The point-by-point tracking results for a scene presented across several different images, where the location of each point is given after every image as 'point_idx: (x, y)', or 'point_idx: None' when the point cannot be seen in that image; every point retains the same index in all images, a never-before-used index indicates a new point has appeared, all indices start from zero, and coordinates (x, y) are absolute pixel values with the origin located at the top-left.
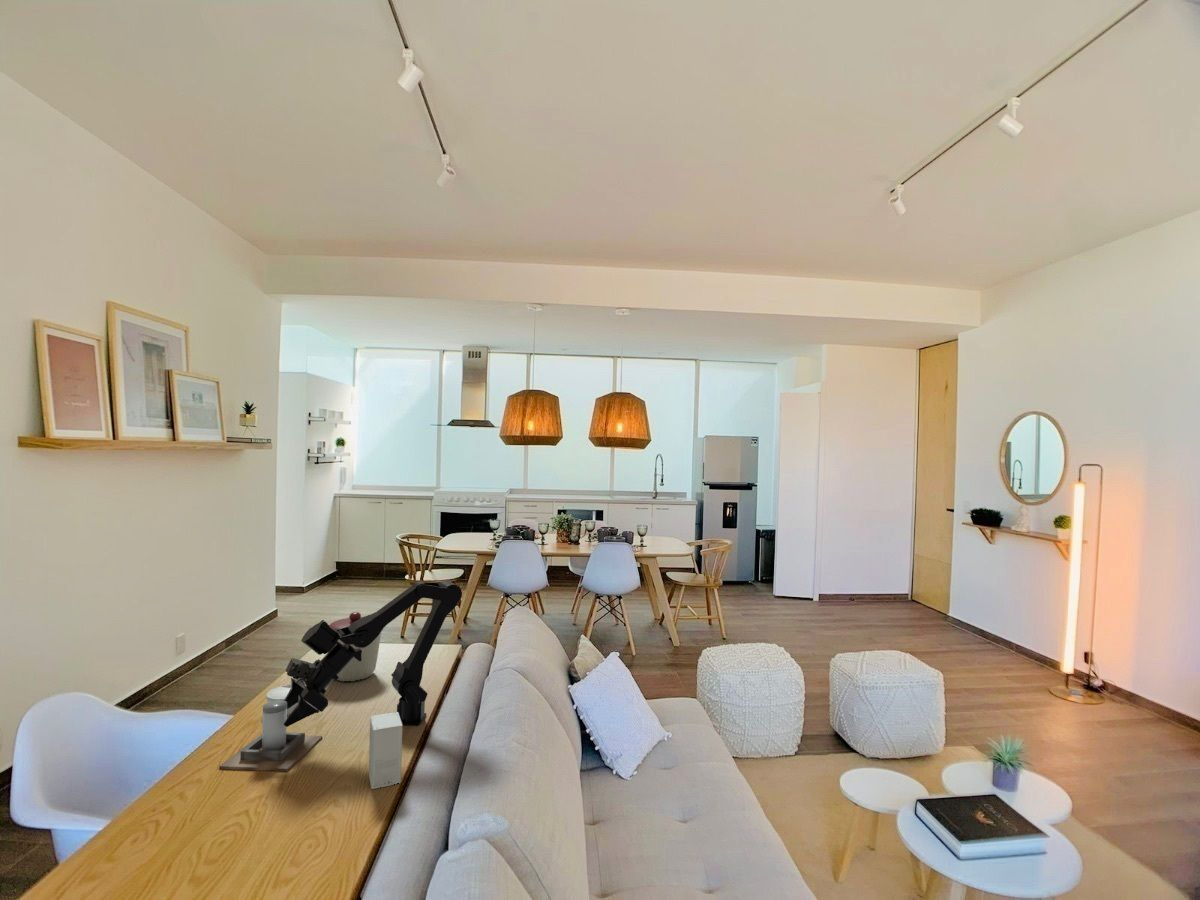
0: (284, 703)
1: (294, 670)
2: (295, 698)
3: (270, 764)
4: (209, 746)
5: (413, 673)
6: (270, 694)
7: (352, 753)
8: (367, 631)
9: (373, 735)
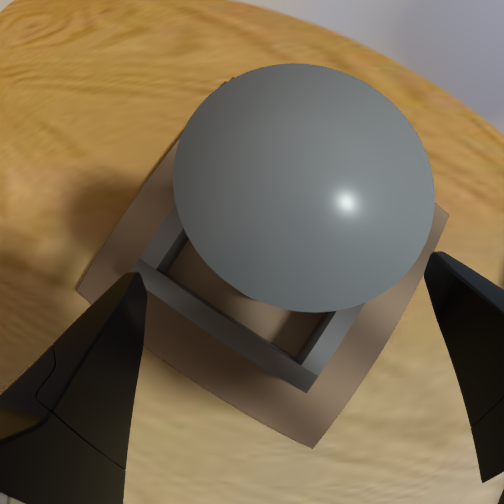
0: (304, 278)
1: None
2: (484, 380)
3: (140, 233)
4: (412, 75)
5: None
6: None
7: (124, 499)
8: None
9: None
